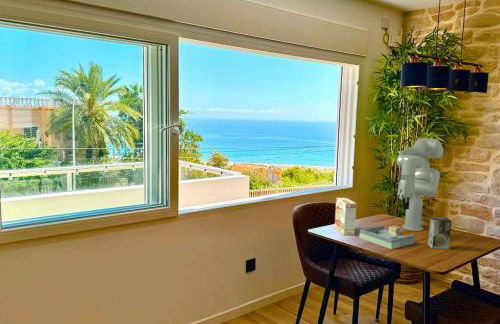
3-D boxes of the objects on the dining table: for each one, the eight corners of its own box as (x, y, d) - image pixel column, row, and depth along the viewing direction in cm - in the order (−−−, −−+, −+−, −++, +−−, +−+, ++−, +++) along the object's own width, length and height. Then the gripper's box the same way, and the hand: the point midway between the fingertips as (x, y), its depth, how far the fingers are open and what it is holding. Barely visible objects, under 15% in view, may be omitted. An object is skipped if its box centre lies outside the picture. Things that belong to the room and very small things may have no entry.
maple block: (393, 232, 232) (394, 225, 231) (401, 234, 228) (401, 227, 227) (388, 233, 229) (388, 226, 229) (395, 235, 225) (396, 228, 224)
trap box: (382, 233, 239) (382, 225, 239) (414, 243, 221) (415, 235, 220) (359, 237, 229) (360, 229, 228) (391, 249, 210) (391, 240, 210)
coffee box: (444, 245, 219) (447, 217, 217) (449, 249, 213) (452, 220, 211) (427, 244, 220) (430, 216, 218) (431, 248, 214) (434, 219, 212)
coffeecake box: (334, 228, 247) (335, 197, 244) (344, 228, 248) (346, 197, 246) (343, 235, 232) (345, 203, 230) (354, 235, 233) (356, 203, 231)
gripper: (410, 176, 236) (407, 206, 238) (393, 177, 228) (391, 208, 230) (421, 178, 230) (418, 209, 232) (405, 179, 222) (402, 211, 224)
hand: (405, 208), depth 231 cm, fingers closed
